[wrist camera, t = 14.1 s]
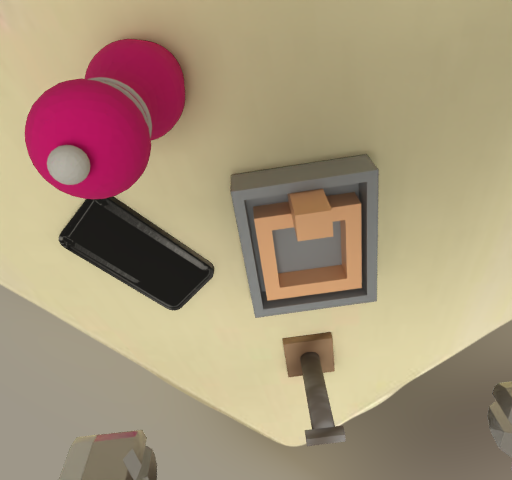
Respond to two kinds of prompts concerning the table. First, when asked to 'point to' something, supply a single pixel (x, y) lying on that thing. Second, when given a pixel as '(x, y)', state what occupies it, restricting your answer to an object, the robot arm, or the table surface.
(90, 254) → the phone
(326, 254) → the tray
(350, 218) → the ring
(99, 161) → the pepper mill
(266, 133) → the table surface
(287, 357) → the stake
